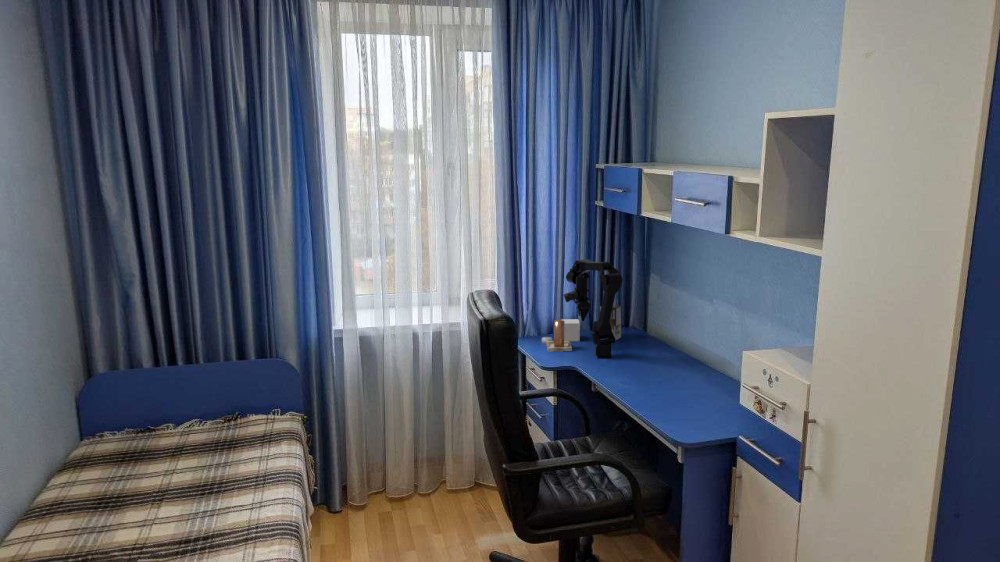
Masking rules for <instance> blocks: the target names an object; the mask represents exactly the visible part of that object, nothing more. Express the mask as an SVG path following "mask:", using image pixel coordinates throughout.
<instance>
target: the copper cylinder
mask: <svg viewBox="0 0 1000 562" xmlns="http://www.w3.org/2000/svg"><path fill="white" fill-rule="evenodd" d="M564 324H565V321H564V320H562V319H555V320H554V321H553V341H554V347H564Z"/></svg>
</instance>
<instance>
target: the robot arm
mask: <svg viewBox="0 0 1000 562" xmlns="http://www.w3.org/2000/svg"><path fill="white" fill-rule="evenodd" d="M592 271H597V272H599V276H598V277H599V280H600V281H601V287H602V289H603V296H602V302H601V305H600V306H601V311H600V310H599V316H598V320H595V321H593V323H592V328H591V330H592V331H591V337H592V342H593V344H594V345H595V346H594V350H595V351H594V355H595V356H596V358H597V359H613V356H612V344H615V343H616V341H617V340H616V339H615V337H614V335H613V333H612V327H611V324H610V318H611V313H612V309H613V305H615V304H614V303H615V298H616V294H617V293H618V292H619V291H620V290H621V289H622V288H621V287H622V285H623V281H624V279H623V277H622V275H621V273H620V271H619V270H618V269H617V268H616V267H614V266H613V265H612V264H611V262H610V261H593V260H591V259H588V258H587V259H578V260H577V259H576V260H575V261H574V263H573V265H572V268H569V271H568V272H567V274H566V276H565V279H566V281H567V282H568V283H571V284H574V285H575V287H574V290H572V291H569V292H566V293H564V294H563V298H564V300H565V303H569V302H571V301H573V302H574V304H575V305H576V309H577V311H578V312H577V313H578V317H580V319H581V322H584V321H585V320H586V318H587V315H588V313H589V311H590V309H591V307H592V303H591V302H590V300H589V291H590V290H589V279H590V278H591V275H590V274H589V272H592ZM606 271H607V272H608V273H609V274H608V273H606V274H605V273H604V272H606ZM606 338H608V339H606Z"/></svg>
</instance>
